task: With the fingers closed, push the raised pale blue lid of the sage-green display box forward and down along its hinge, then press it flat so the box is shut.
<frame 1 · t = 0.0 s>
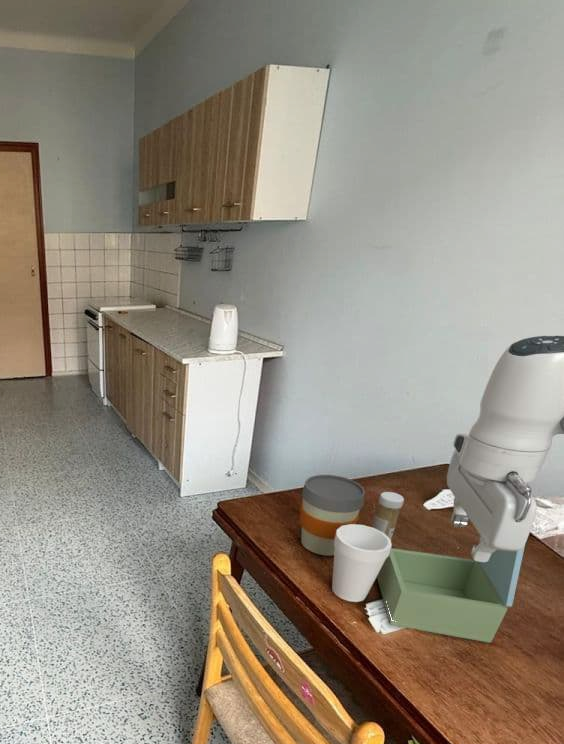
hand: (467, 541, 72), 22 cm above the table, tool pointing down, fingers open, 8 cm apart
foam cup: (348, 592, 95), on the table
hatch: (500, 541, 80), point 17 cm above the table, hinge at 80.0°
display box: (429, 607, 90), on the table
sprinkles bottle: (377, 548, 108), on the table
reusable coffee cup: (321, 544, 109), on the table
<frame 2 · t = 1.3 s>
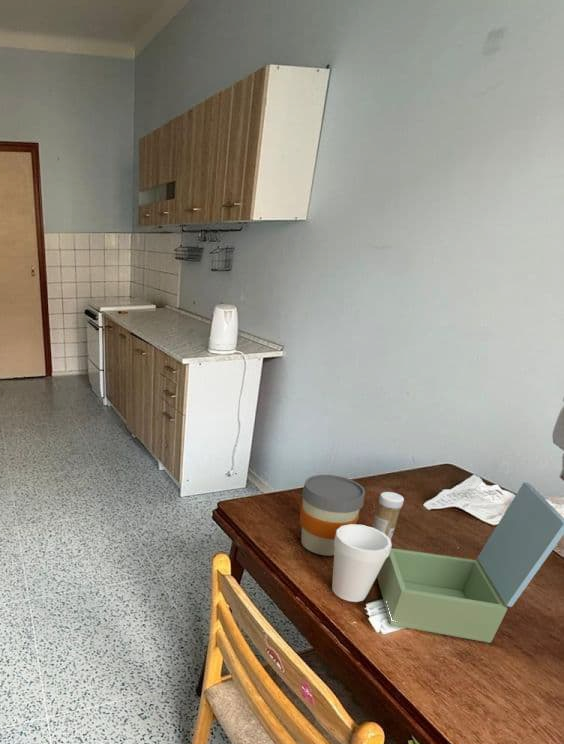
hatch: (517, 543, 80), point 17 cm above the table, hinge at 97.1°
everything else where it was.
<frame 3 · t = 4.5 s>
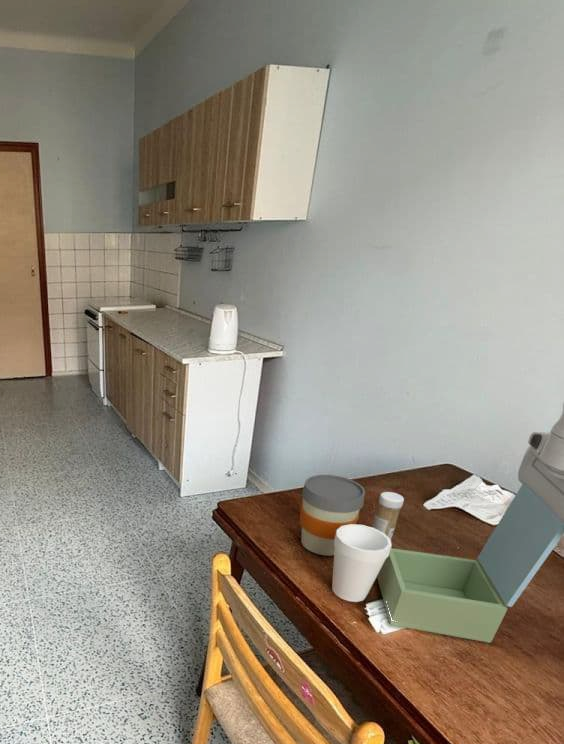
hand: (542, 531, 78), 20 cm above the table, tool pointing down, fingers closed, pressing on hatch
hatch: (517, 543, 80), point 17 cm above the table, hinge at 97.0°, touching gripper
everything else where it was.
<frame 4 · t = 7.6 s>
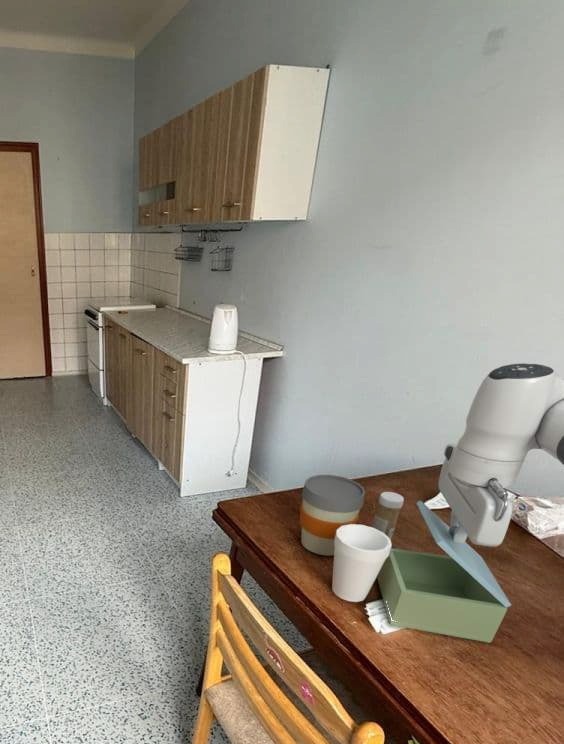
hand: (455, 537, 82), 16 cm above the table, tool pointing down, fingers closed, pressing on hatch
hatch: (460, 550, 83), point 14 cm above the table, hinge at 39.0°, touching gripper
everything else where it was.
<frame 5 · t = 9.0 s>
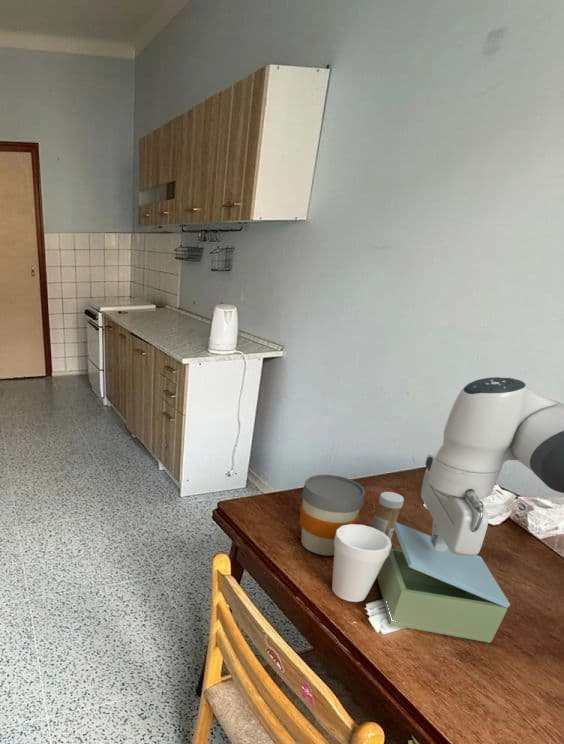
hand: (437, 546, 84), 14 cm above the table, tool pointing down, fingers closed
hatch: (446, 561, 85), point 11 cm above the table, hinge at 18.3°
everything else where it was.
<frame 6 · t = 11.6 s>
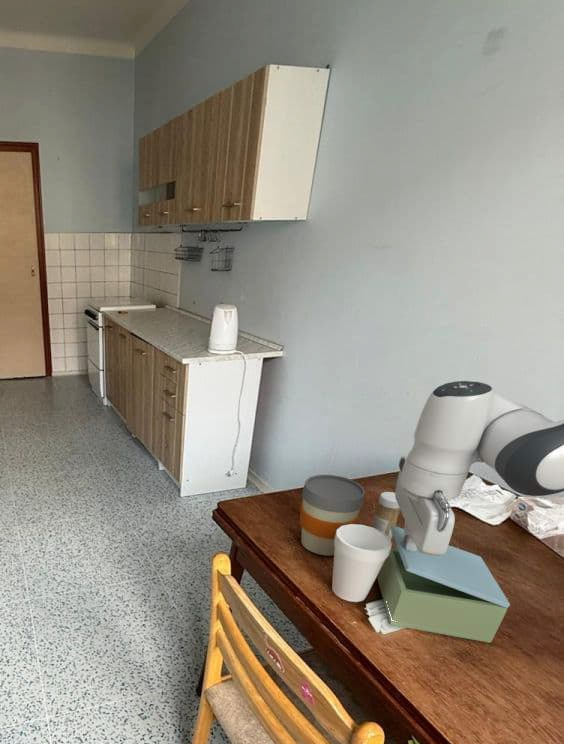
hand: (408, 546, 86), 13 cm above the table, tool pointing down, fingers closed, pressing on hatch
hatch: (445, 563, 85), point 11 cm above the table, hinge at 15.3°, touching gripper
everything else where it was.
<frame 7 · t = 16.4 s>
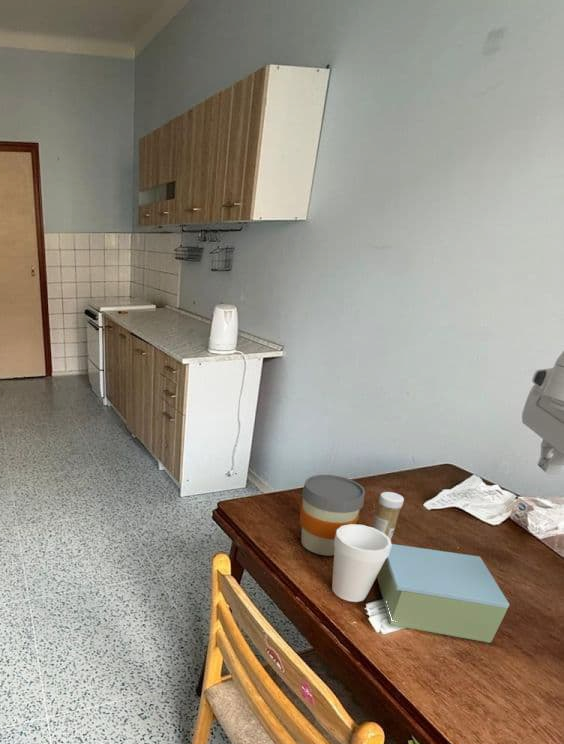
hand: (547, 470, 76), 29 cm above the table, tool pointing down, fingers closed
hatch: (439, 572, 86), point 8 cm above the table, hinge at 0.4°
everything else where it was.
at the end: hatch at +0° (first picture: +80°); foam cup moved 0.2 cm from its start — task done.
